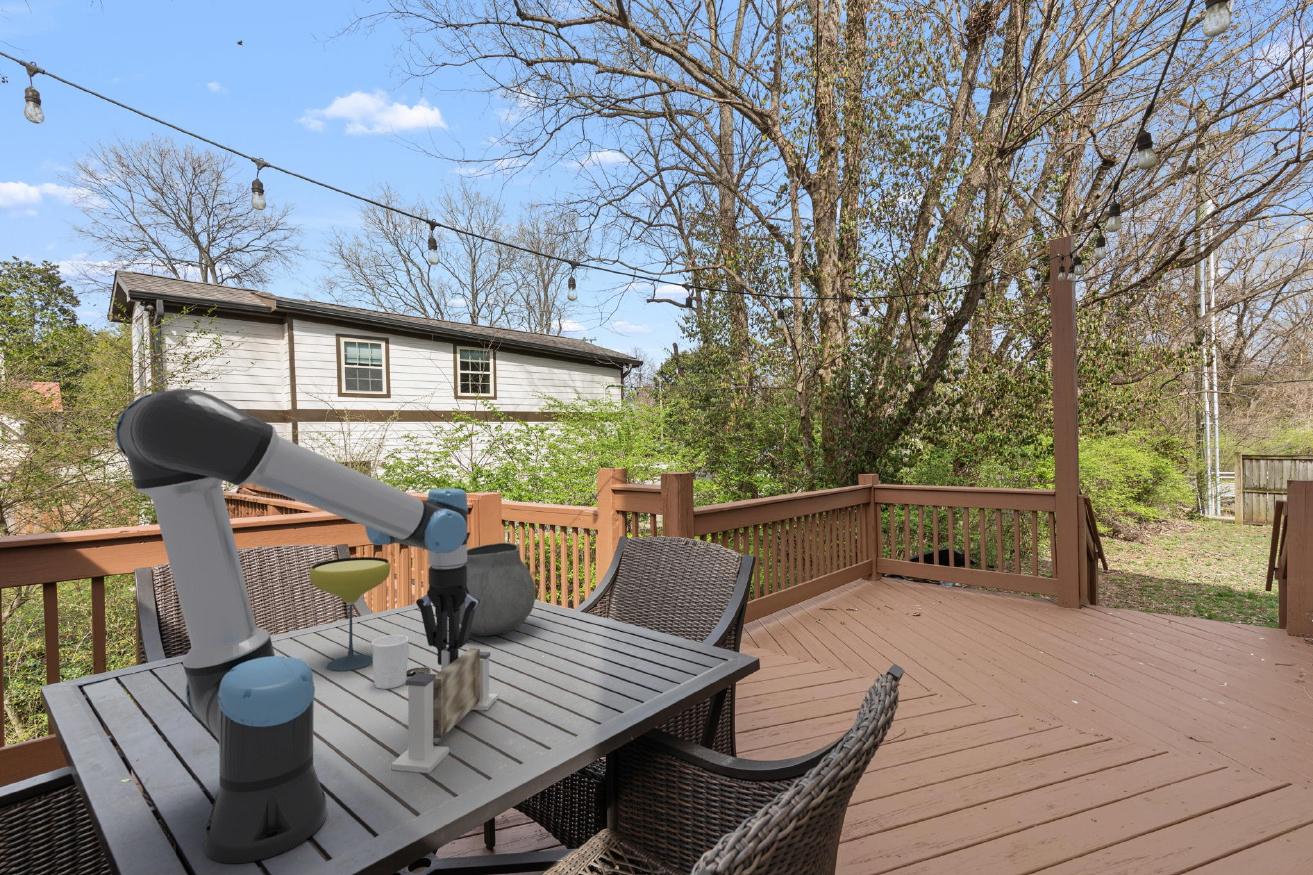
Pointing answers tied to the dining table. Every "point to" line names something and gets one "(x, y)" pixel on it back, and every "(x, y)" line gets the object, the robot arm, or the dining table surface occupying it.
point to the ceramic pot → (498, 588)
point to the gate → (455, 691)
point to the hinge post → (420, 728)
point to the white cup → (390, 661)
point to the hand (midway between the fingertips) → (448, 680)
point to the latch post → (485, 684)
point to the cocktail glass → (350, 593)
